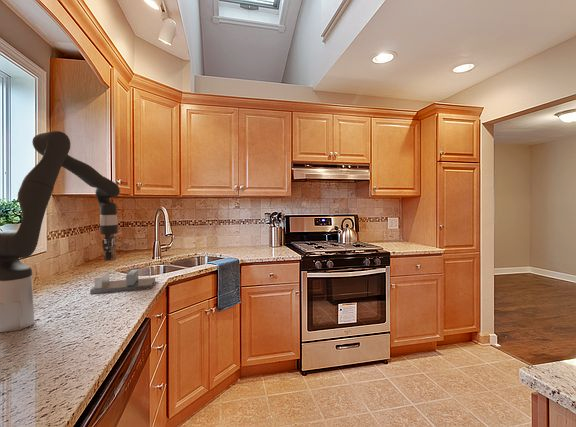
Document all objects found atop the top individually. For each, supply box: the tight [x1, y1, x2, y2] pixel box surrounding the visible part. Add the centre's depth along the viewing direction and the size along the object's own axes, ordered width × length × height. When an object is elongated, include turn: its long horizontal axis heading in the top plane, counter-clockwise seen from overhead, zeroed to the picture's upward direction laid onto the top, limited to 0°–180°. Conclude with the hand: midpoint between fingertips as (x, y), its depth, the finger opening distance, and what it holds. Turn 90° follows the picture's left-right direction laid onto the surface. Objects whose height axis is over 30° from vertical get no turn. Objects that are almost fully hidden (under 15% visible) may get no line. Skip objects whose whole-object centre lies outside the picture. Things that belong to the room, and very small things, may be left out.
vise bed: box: [90, 271, 156, 295], centre depth 151 cm, size 14×26×7 cm, turn 106°
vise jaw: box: [125, 269, 139, 286], centre depth 152 cm, size 12×3×5 cm, turn 16°
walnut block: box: [103, 246, 117, 262], centre depth 148 cm, size 5×4×6 cm
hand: (110, 258), depth 148 cm, fingers closed on walnut block, 5 cm apart
